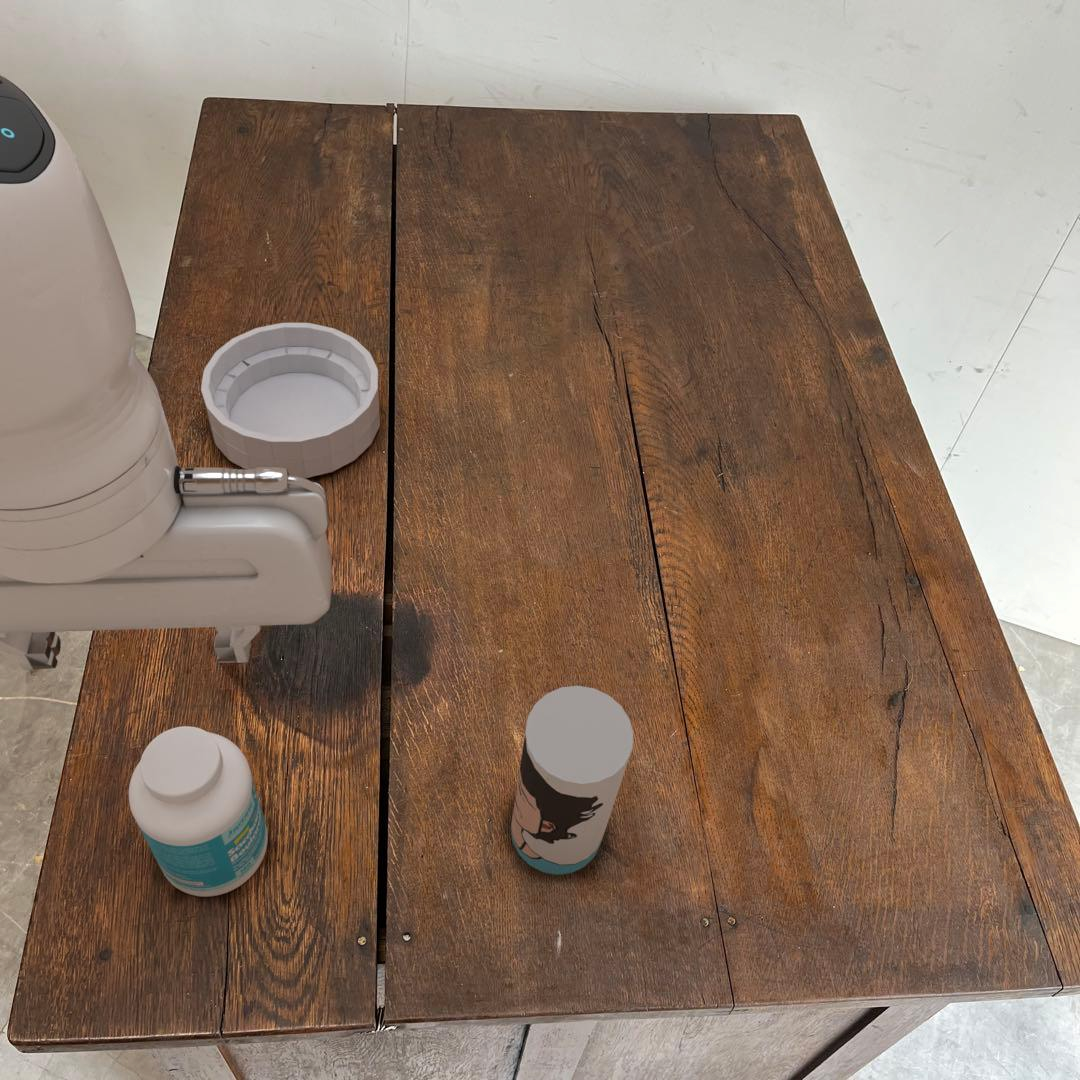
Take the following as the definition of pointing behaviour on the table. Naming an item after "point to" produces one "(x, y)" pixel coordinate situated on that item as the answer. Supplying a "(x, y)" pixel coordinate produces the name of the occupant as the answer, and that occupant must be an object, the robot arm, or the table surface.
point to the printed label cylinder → (569, 777)
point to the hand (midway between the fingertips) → (140, 654)
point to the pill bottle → (199, 811)
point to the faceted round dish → (292, 398)
